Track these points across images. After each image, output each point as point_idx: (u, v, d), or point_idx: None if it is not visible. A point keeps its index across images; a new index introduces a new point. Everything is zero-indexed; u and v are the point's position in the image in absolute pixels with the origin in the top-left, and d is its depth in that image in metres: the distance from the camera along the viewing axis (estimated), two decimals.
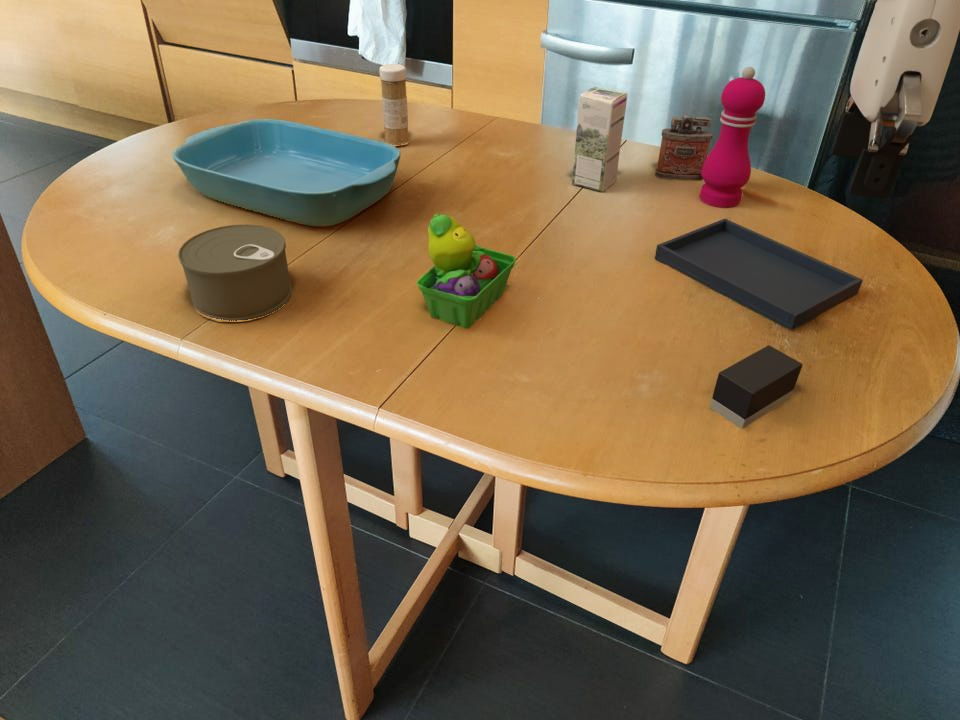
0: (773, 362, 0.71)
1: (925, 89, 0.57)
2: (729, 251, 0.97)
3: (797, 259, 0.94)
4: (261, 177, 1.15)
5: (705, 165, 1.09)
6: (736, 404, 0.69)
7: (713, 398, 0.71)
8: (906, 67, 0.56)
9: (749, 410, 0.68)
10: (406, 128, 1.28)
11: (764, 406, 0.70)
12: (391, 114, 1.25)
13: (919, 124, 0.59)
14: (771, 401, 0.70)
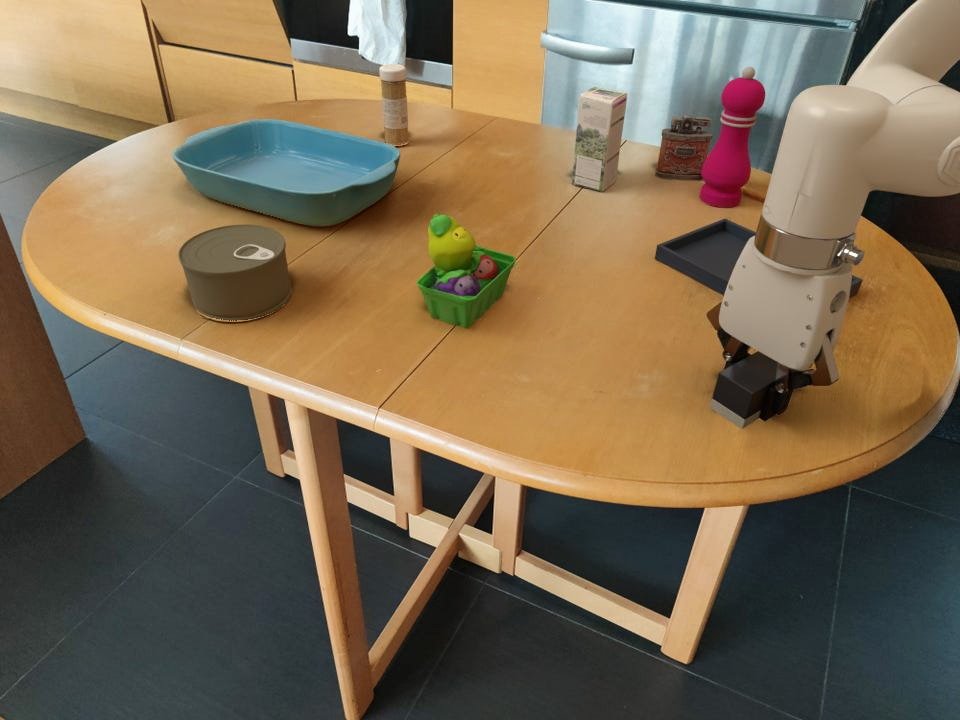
0: (773, 362, 0.71)
1: (835, 336, 0.64)
2: (729, 251, 0.97)
3: None
4: (261, 177, 1.15)
5: (705, 165, 1.09)
6: (736, 404, 0.69)
7: (713, 398, 0.71)
8: (827, 329, 0.62)
9: (749, 410, 0.68)
10: (406, 128, 1.28)
11: None
12: (391, 114, 1.25)
13: None
14: None
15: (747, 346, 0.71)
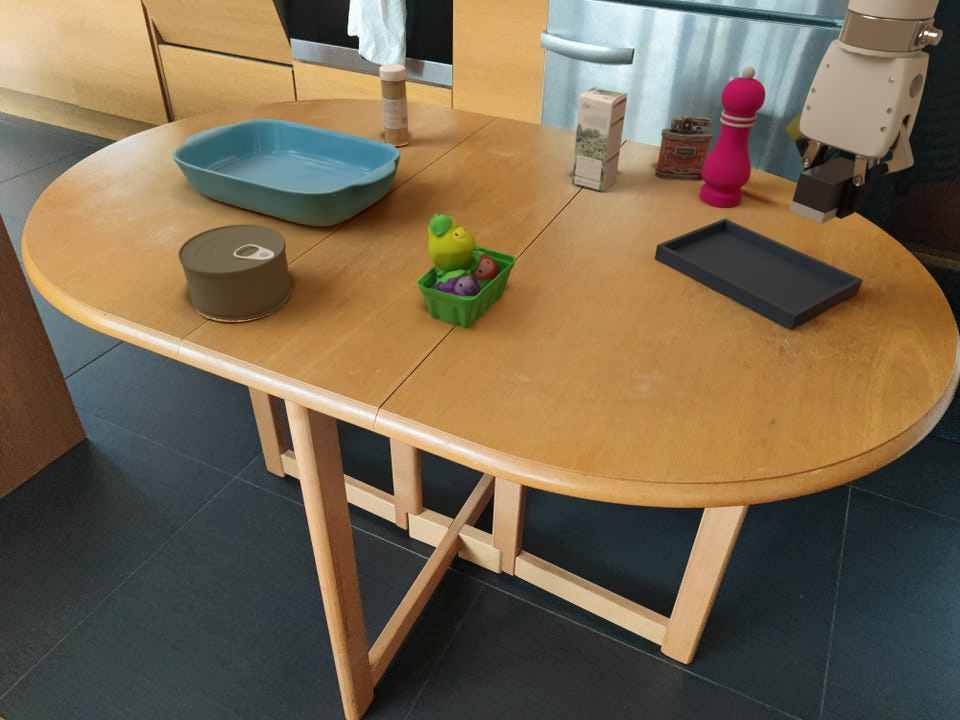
0: (847, 166, 0.79)
1: (910, 125, 0.72)
2: (729, 251, 0.97)
3: (797, 259, 0.94)
4: (261, 177, 1.15)
5: (705, 165, 1.09)
6: (816, 200, 0.77)
7: (793, 200, 0.79)
8: (905, 113, 0.70)
9: (829, 203, 0.76)
10: (406, 128, 1.28)
11: None
12: (391, 114, 1.25)
13: None
14: None
15: (823, 154, 0.79)
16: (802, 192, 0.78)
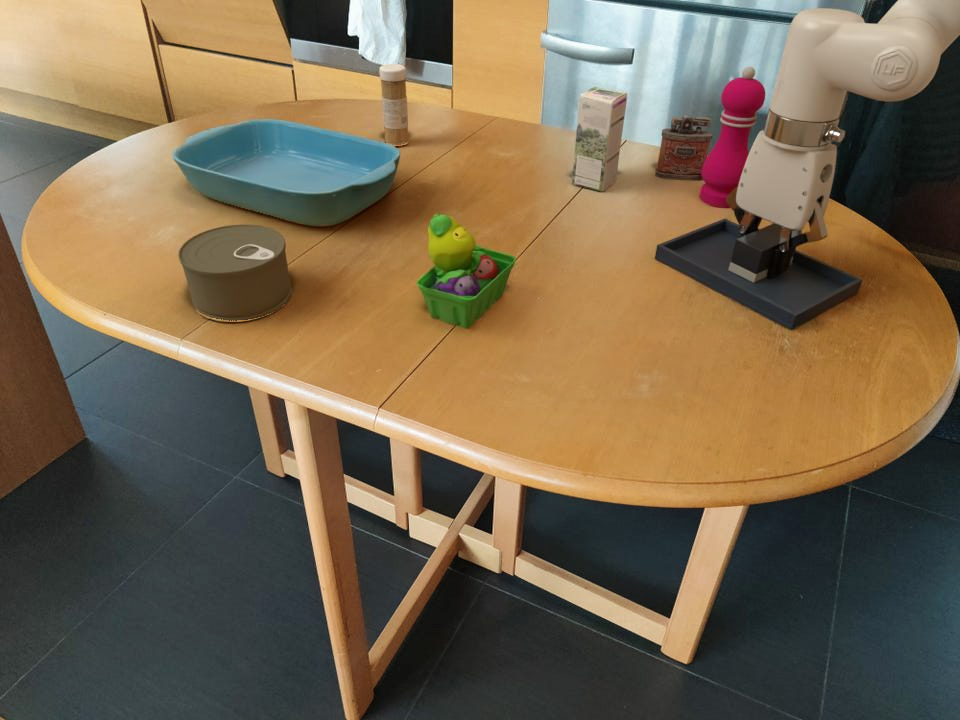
0: (777, 233, 0.92)
1: (824, 203, 0.85)
2: (729, 251, 0.97)
3: (797, 259, 0.94)
4: (261, 177, 1.15)
5: (705, 165, 1.09)
6: (749, 263, 0.90)
7: (731, 261, 0.92)
8: (818, 195, 0.83)
9: (759, 266, 0.89)
10: (406, 128, 1.28)
11: None
12: (391, 114, 1.25)
13: None
14: None
15: (757, 222, 0.93)
16: (738, 255, 0.91)
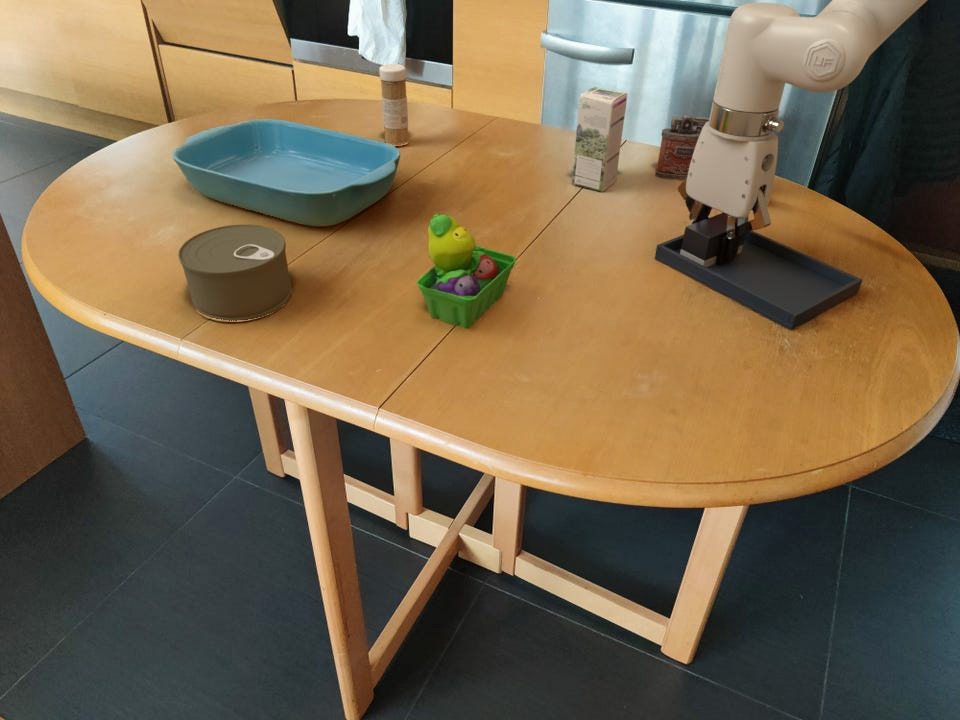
0: (726, 221, 0.95)
1: (768, 192, 0.88)
2: None
3: (797, 259, 0.94)
4: (261, 177, 1.15)
5: None
6: (698, 249, 0.93)
7: (682, 248, 0.95)
8: (760, 184, 0.86)
9: (707, 253, 0.92)
10: (406, 128, 1.28)
11: None
12: (391, 114, 1.25)
13: None
14: None
15: (707, 211, 0.95)
16: (687, 242, 0.94)
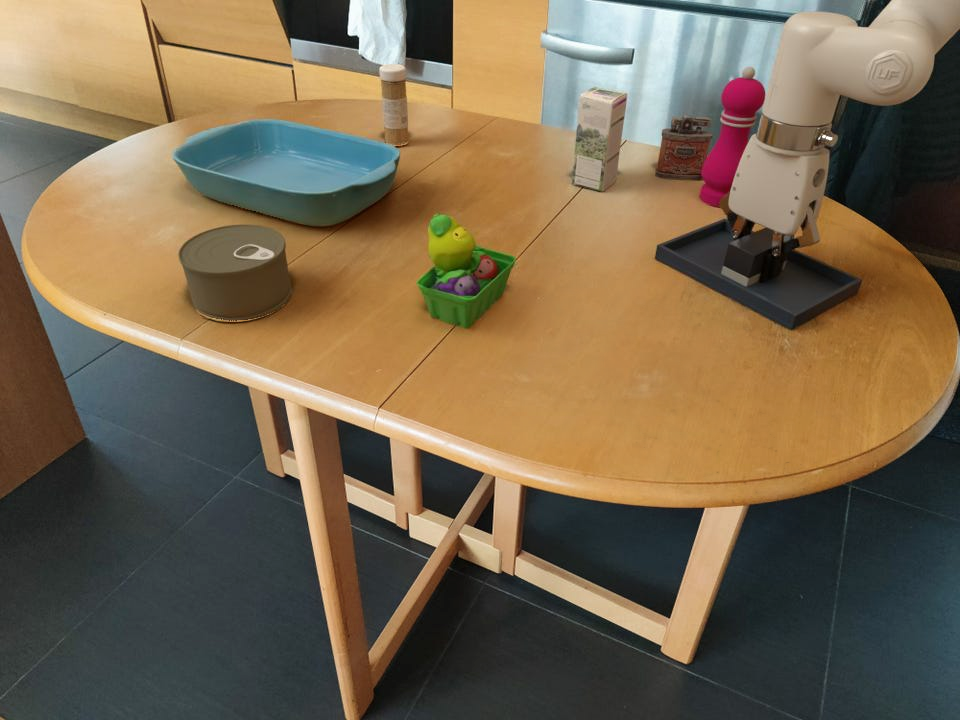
0: (770, 236, 0.91)
1: (817, 208, 0.84)
2: None
3: (797, 259, 0.94)
4: (261, 177, 1.15)
5: (705, 165, 1.09)
6: (742, 267, 0.89)
7: (724, 265, 0.91)
8: (811, 199, 0.82)
9: (752, 270, 0.89)
10: (406, 128, 1.28)
11: None
12: (391, 114, 1.25)
13: None
14: None
15: (750, 226, 0.92)
16: (730, 259, 0.90)
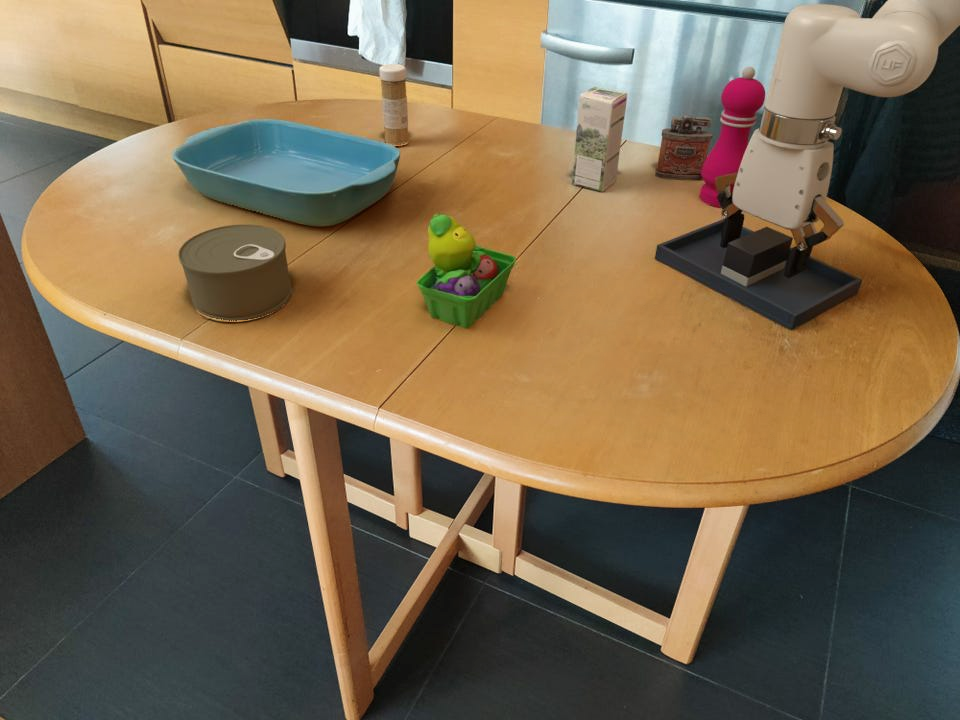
0: (770, 236, 0.91)
1: None
2: None
3: None
4: (261, 177, 1.15)
5: (705, 165, 1.09)
6: (741, 266, 0.89)
7: (723, 265, 0.91)
8: (815, 193, 0.82)
9: (751, 270, 0.89)
10: (406, 128, 1.28)
11: (763, 269, 0.90)
12: (391, 114, 1.25)
13: None
14: (768, 266, 0.91)
15: (741, 209, 0.92)
16: (730, 259, 0.90)
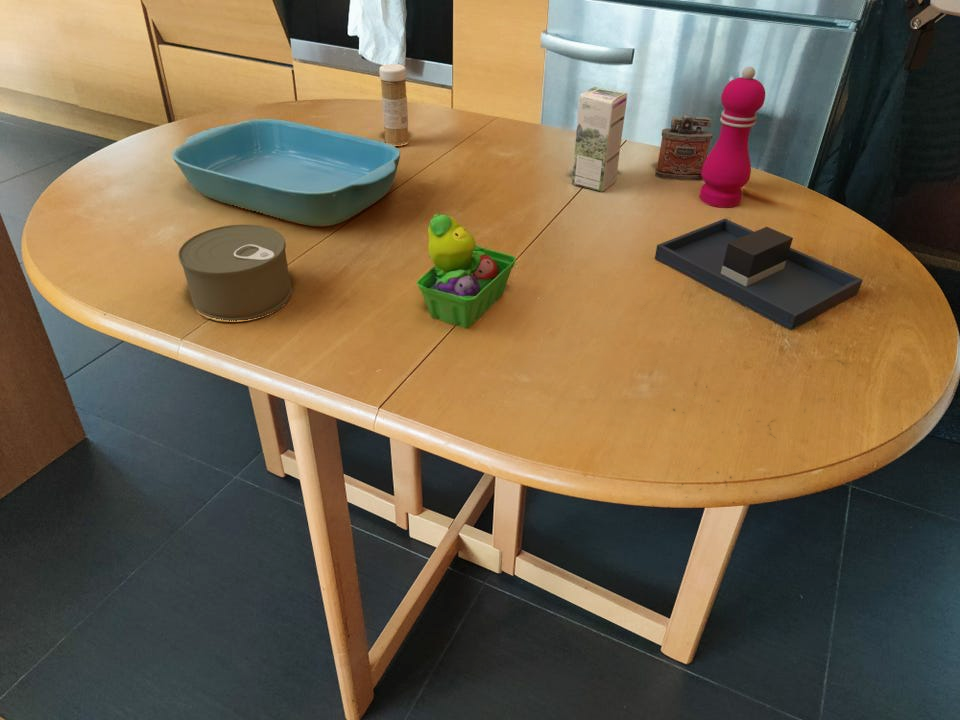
0: (770, 236, 0.91)
1: None
2: None
3: (797, 259, 0.94)
4: (261, 177, 1.15)
5: (705, 165, 1.09)
6: (741, 266, 0.89)
7: (723, 265, 0.91)
8: None
9: (751, 270, 0.89)
10: (406, 128, 1.28)
11: (763, 269, 0.90)
12: (391, 114, 1.25)
13: None
14: (768, 266, 0.91)
15: (935, 19, 0.74)
16: (730, 259, 0.90)
